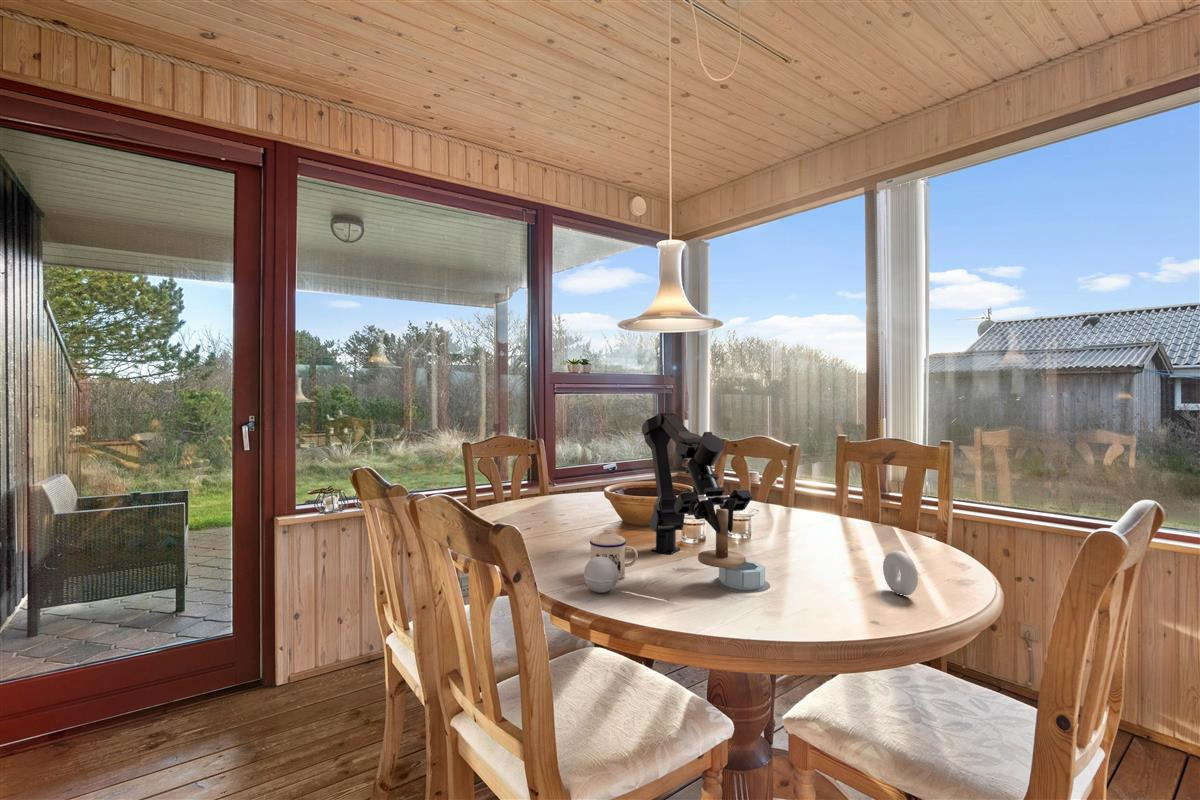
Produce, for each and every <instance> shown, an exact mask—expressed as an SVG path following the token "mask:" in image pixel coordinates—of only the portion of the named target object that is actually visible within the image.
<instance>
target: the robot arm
mask: <svg viewBox="0 0 1200 800" xmlns="http://www.w3.org/2000/svg"><path fill="white" fill-rule="evenodd" d="M677 417H678V416H677V414H676V413H674V412H673V411H672V412H671V411H670V412H667V411H666V412H665V411H664V412H659V413H657V414H656V415H655V416H652V417H650V418H647V419H646V420H645V421H644V422H643V423H642V425H641V433H642V435H643V438H644V442H645V443H646V445H647V446H648V447H649V448H650V451H651V454H652V455H651V456H652V457H651V458H652V464H653V470H654V471H653V472H654V477H655V485H656V494H657V498H656V501H655V502H654V504H653V512H652V514H651V516H650V519H649V521H648V522H649V523H648V524H649V529H650V530H652V531H653V532H655V546H654V547H653V548H651V549H650V550H651V552H656V553H662V554H669V555H672V554H674V553H677V552H679V551H680V550H681V547H677V545H676V543H677V542H676V541H677V537H676V536H677V534H676V531H683V527H684V524H685V523H684V522H685V516H686V515H687V516H693V517H694V518H695V519H696V520H701V519H702V520H703V519H704V520H705V521H706V522H707V523H708V524H709V526H711V528H712V529H713V530H714V531H715V533H716V532H717V533H719V532H720V526H719V522H718V519H717V516H716V510H715V506H718V507H719V509H728V533H732V532H733V528H734V526H733V525H734V512H741V511H744V510H746V508H747V506H748V505H749V504H750V502H751V501H752V500H753V495H752V493H751V491H750V490H749V489H746V488H743V489H740V488H739V489H733V491H732V492H731V494H730V495H724V493H725V491H726V490H725V488H724V487H723V486H720V485H719V482H718V479H719V478H720V477H719V474H718V473H715V472H714V470H713V467H712V466H714V465H716V464H717V462H718V460H719V458H720V456H721V454H722V453H723V451H724V449H725V442H724V440H722V439H721V438H720V437H719V436H717V435H714V434H713V432H712V431H704V432H703V434H702V436H701V435H699V434H698V433H694V432H692V431H690V430H689V429H688V428H687V426H685V425H684V424H683V423H682V422H681V420H680V419H678V418H677ZM670 440H672V441H673V443H675V452H676V454H677V456H678V457H679V459H681V460H688V462H687V463H686V469H685V475H690V478H691V480H692V484H693V486H692V491H681V492H679V494H678V496H676V494H675V491H674V485H673V479H672V478H673V477H672V471H671V464H670V457H669V450H668V445H669V443H670Z"/></svg>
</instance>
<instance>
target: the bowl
mask: <svg viewBox="0 0 1200 800" xmlns="http://www.w3.org/2000/svg"><path fill="white" fill-rule="evenodd" d="M718 577H719V579H720V582H721V584H722V585H724V586H726V587H728V588H732V589H737V590H757V589H760V588H762V587H763V586H764V582H765V581H766V567H765V566H764V565H763V564H761V563H759V562H757V561H753V560H747V559H746V564H745V565H743V566H740V567H735V568H720V567H718Z"/></svg>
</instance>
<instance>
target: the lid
mask: <svg viewBox="0 0 1200 800" xmlns="http://www.w3.org/2000/svg"><path fill="white" fill-rule="evenodd" d="M715 509H716V508H715ZM715 513H716V516H717V519H718V522H719V526H720V532H719V533H717V532H716V531H715V549H711V550H705V551H701V552H699V553H698V554H697V560H698V562H699V563H700V564H702V565H705V566H708V567H713V568H719V567H720V568H735V567H740V566H743V565H745V564H746V560H747V557H746V556H745V554H741V553H739V552H735V551H732V550H731V551H730V550H729V530H728V509H721V508H717V509H716V510H715Z"/></svg>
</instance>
